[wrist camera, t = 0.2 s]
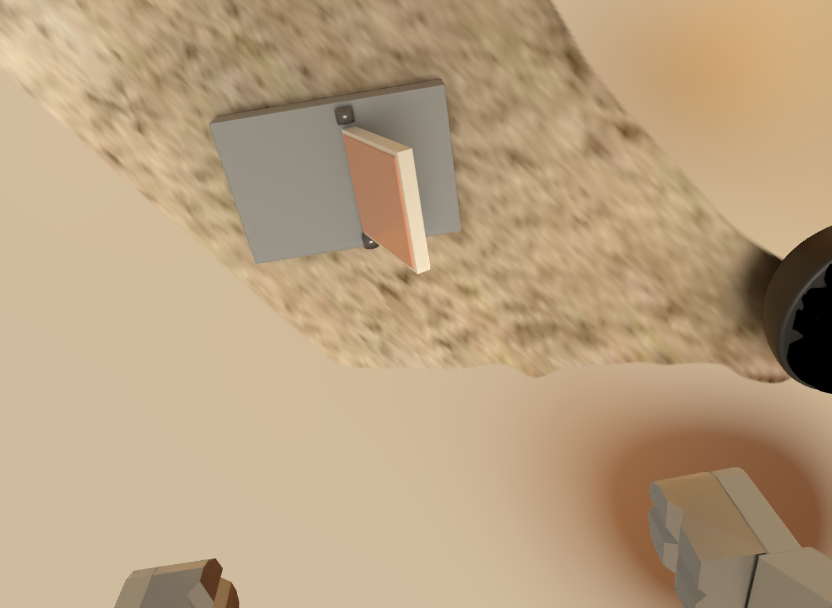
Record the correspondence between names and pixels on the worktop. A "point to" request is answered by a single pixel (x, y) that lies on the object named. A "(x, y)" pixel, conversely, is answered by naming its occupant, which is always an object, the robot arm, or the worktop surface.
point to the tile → (387, 195)
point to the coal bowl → (803, 312)
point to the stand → (331, 167)
